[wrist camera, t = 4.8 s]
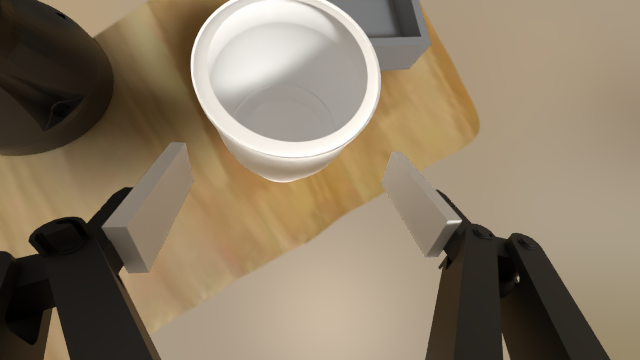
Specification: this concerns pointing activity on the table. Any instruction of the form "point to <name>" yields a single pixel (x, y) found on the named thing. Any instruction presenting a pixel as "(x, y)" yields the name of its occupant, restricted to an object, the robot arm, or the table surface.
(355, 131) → the jar
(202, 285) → the table surface
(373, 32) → the footed square tray
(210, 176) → the table surface
